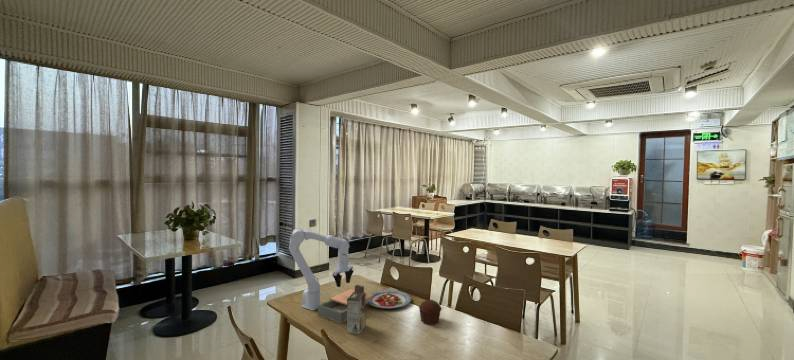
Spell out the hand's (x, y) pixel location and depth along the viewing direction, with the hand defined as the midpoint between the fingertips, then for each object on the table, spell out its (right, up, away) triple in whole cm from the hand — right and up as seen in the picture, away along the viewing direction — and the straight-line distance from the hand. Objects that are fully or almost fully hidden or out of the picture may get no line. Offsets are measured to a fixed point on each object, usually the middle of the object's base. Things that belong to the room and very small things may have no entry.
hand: (343, 284), depth 188 cm
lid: (+6, -6, -6) cm, 10 cm away
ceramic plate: (+25, -11, +3) cm, 28 cm away
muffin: (+47, -12, -21) cm, 53 cm away
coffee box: (+11, -12, -30) cm, 34 cm away
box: (+1, -11, -13) cm, 17 cm away
